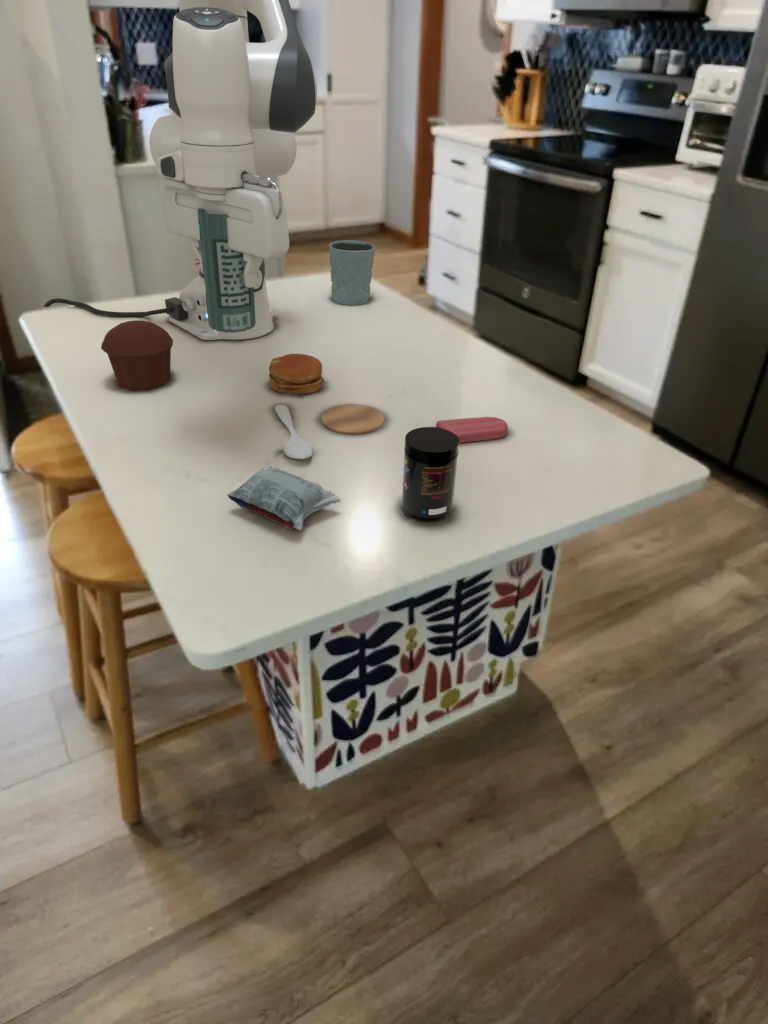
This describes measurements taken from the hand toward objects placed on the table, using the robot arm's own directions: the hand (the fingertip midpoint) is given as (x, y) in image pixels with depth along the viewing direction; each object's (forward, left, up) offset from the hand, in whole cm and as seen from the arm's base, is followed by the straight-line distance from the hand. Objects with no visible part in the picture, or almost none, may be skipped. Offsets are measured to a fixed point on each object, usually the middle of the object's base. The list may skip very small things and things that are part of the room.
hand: (228, 279), depth 99 cm
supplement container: (+33, +2, -24) cm, 41 cm away
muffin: (-28, +4, -24) cm, 37 cm away
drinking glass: (-30, +63, -24) cm, 74 cm away
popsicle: (+25, +23, -24) cm, 41 cm away
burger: (-7, +20, -24) cm, 32 cm away
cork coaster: (+9, +16, -24) cm, 30 cm away
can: (0, 0, -6) cm, 6 cm away
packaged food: (+19, -10, -24) cm, 32 cm away
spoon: (+5, +6, -24) cm, 25 cm away
